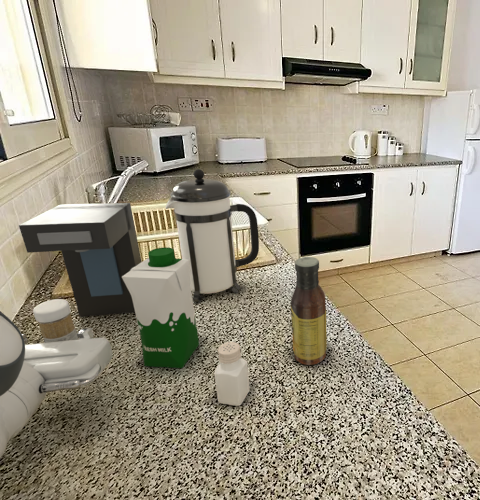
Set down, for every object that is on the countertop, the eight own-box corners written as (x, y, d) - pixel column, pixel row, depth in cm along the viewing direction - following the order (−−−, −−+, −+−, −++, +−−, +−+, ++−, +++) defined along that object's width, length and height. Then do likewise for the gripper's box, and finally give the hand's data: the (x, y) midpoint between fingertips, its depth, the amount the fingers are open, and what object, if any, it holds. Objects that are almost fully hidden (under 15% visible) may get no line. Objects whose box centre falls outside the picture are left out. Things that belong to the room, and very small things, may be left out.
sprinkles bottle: (68, 363, 67) (47, 297, 62) (93, 364, 66) (74, 298, 61) (48, 381, 62) (24, 311, 57) (74, 382, 62) (53, 312, 57)
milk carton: (205, 341, 73) (192, 247, 66) (184, 372, 65) (166, 268, 58) (162, 339, 74) (143, 245, 66) (135, 370, 65) (111, 266, 58)
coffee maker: (55, 345, 71) (17, 226, 63) (87, 307, 84) (59, 204, 76) (129, 338, 74) (103, 222, 65) (149, 302, 87) (130, 202, 78)
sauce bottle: (303, 343, 74) (300, 250, 66) (332, 351, 72) (332, 255, 64) (286, 363, 68) (281, 263, 61) (317, 372, 66) (316, 270, 59)
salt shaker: (251, 390, 62) (246, 341, 58) (240, 408, 58) (235, 357, 54) (228, 386, 62) (223, 338, 59) (216, 404, 58) (209, 354, 55)
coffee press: (225, 309, 85) (210, 177, 74) (167, 298, 89) (144, 172, 78) (262, 278, 101) (255, 165, 90) (211, 269, 105) (198, 161, 94)
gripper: (85, 366, 49) (122, 311, 61) (-107, 386, 45) (-25, 324, 57) (96, 403, 51) (129, 344, 64) (-85, 426, 47) (-11, 357, 59)
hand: (55, 334), depth 60 cm, fingers open, 8 cm apart
